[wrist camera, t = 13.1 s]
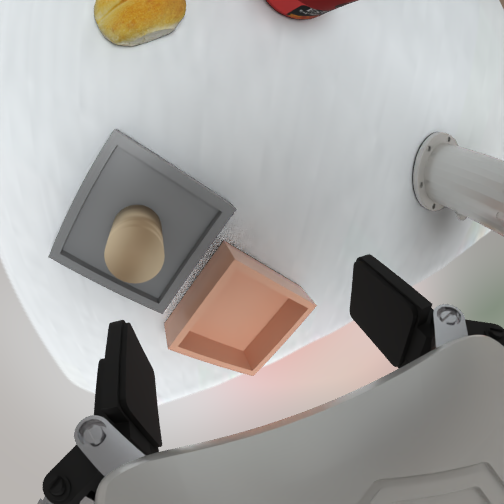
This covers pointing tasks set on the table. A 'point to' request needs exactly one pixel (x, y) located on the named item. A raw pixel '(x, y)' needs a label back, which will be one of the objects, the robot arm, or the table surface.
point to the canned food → (306, 7)
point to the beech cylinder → (135, 245)
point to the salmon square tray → (236, 312)
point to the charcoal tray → (148, 194)
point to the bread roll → (137, 19)
